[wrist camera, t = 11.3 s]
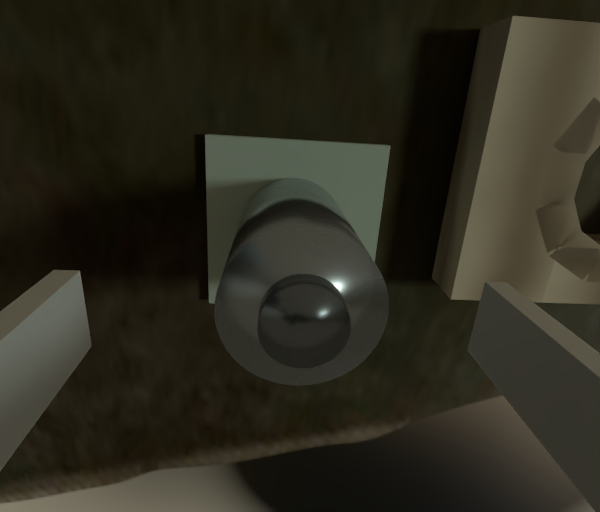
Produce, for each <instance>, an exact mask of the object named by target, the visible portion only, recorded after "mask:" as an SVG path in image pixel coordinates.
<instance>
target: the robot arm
mask: <svg viewBox="0 0 600 512" xmlns="http://www.w3.org/2000/svg"><path fill="white" fill-rule="evenodd" d="M90 348H91V339H90V333H89V326H88V320H87V313H86V307H85V300H84V294H83V288H82V281H81V275H80V271H75V270H53V271H52V272H51V273H49V274H48V275H47V276H45V277H44V278H43V279H42V280H40V281H39V282H38V283H36V284H35V285H34V286H33V287H31V288H30V289H29V290H27V291H26V292H25V293H24V294H22V295H21V296H20V297H18V298H17V299H16V300H15V301H13V302H12V303H11V304H9V305H8V306H7V307H6V308H4V309H3V310H2V311H0V471H1V469H2V468H3V467H4V465H5V464H6V463H7V461H8V460H9V458H10V457H11V456H12V454H13V453H14V452H15V450H16V449H17V448H18V446H19V445H20V443H21V442H22V441H23V439H24V438H25V437H26V435H27V434H28V433H29V431H30V430H31V428H32V427H33V426H34V424H35V423H36V422H37V420H38V419H39V417H40V416H41V415H42V413H43V412H44V411H45V409H46V408H47V407H48V405H49V404H50V402H51V401H52V400H53V398H54V397H55V396H56V394H57V393H58V391H59V390H60V389H61V387H62V386H63V385H64V383H65V382H66V381H67V379H68V378H69V376H70V375H71V374H72V372H73V371H74V370H75V368H76V367H77V365H78V364H79V363H80V361H81V360H82V359H83V357H84V356H85V355H86V353H87V352H88V350H89V349H90ZM468 352H469V353H470V354H471V355H472V357H473V358H474V359H475V360H476V362H477V363H478V364H479V365H480V367H481V368H482V369H483V371H484V372H485V373H486V374H487V376H488V377H489V378H490V379H491V381H492V382H493V383H494V384H495V386H496V387H497V388H498V389H499V391H500V392H501V393H502V394H503V396H504V397H505V398H506V400H507V401H508V402H509V403H510V404H511V406H512V407H513V408H514V410H515V411H516V412H517V413H518V415H519V416H520V417H521V418H522V420H523V421H524V422H525V423H526V425H527V426H528V427H529V428H530V430H531V431H532V432H533V434H534V435H535V436H536V437H537V439H538V440H539V441H540V442H541V444H542V445H543V446H544V447H545V449H546V450H547V451H548V452H549V454H550V455H551V456H552V458H553V459H554V460H555V461H556V463H557V464H558V465H559V466H560V468H561V469H562V470H563V471H564V473H565V474H566V475H567V476H568V478H569V479H570V480H571V481H572V483H573V484H574V485H575V486H576V488H577V489H578V490H579V492H580V493H581V494H582V495H583V497H584V498H585V499H586V500H587V502H588V503H589V504H590V505H591V507H592V508H593V509H594V510H595V512H600V353H599V352H597V351H596V350H595V349H593V348H592V347H591V346H589V345H588V344H587V343H585V342H584V341H583V340H582V339H580V338H579V337H578V336H576V335H575V334H574V333H572V332H571V331H570V330H568V329H567V328H566V327H565V326H563V325H562V324H561V323H559V322H558V321H557V320H555V319H554V318H553V317H551V316H550V315H549V314H548V313H546V312H545V311H544V310H542V309H541V308H540V307H538V306H537V305H536V304H534V303H533V302H532V301H530V300H529V299H528V298H527V297H525V296H524V295H523V294H521V293H520V292H519V291H517V290H516V289H515V288H513V287H512V286H511V285H510V284H508V283H507V282H485V284H484V288H483V292H482V295H481V299H480V303H479V307H478V311H477V315H476V319H475V323H474V327H473V331H472V334H471V338H470V342H469V346H468Z"/></svg>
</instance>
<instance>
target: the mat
mask: <svg viewBox="0 0 600 512" xmlns="http://www.w3.org/2000/svg"><path fill="white" fill-rule="evenodd" d="M389 153H390V145H383V144H366V143H349V142H333V141H316V140H299V139H282V138H266V137H249V136H232V135H216V134H206V135H205V156H206V199H207V242H208V284H209V303H215V297H216V293H217V289H218V286H219V283H220V280H221V277H222V274H223V271H224V268H225V265H226V262H227V259H228V256H229V253H230V250H231V247H232V244H233V241H234V237H235V234H236V231H237V228H238V225H239V222H240V219H241V216H242V213H243V211H244V208H245V206H246V204H247V202H248V201H249V200H250V198H251V197H252V196H253V195H254V194H255V193H256V192H257V191H258V190H259V189H260V188H262V187H263V186H265V185H267V184H268V183H271V182H273V181H276V180H279V179H285V178H300V179H305V180H309V181H311V182H314V183H316V184H318V185H320V186H321V187H323V188H324V189H325V190H327V191H328V192H329V193H330V194H331V195H332V197H333V198H334V199H335V201H336V202H337V204H338V205H339V207H340V209H341V210H342V212H343V213H344V215H345V217H346V218H347V220H348V221H349V223H350V224H351V226H352V228H353V229H354V231H355V232H356V234H357V236H358V237H359V239H360V240H361V242H362V243H363V245H364V247H365V248H366V250H367V251H368V253H369V255H370V256H371V258H372V259H373V261H374V262H375V255H376V247H377V240H378V233H379V225H380V218H381V211H382V204H383V196H384V189H385V182H386V174H387V167H388V160H389Z"/></svg>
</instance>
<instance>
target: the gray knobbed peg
mask: <svg viewBox="0 0 600 512" xmlns="http://www.w3.org/2000/svg"><path fill="white" fill-rule="evenodd" d="M388 312H389V298H388V292H387V287H386V284H385V281H384V279H383V276H382V274H381V273H380V271H379V269H378V267H377V266H376V264H375V262H374V261H373V259H372V258H371V256H370V255H369V253H368V251H367V250H366V248H365V247H364V245H363V243H362V242H361V240H360V239H359V237H358V236H357V234H356V232H355V231H354V229H353V228H352V226H351V224H350V223H349V221H348V220H347V218H346V217H345V215H344V213H343V212H342V210H341V209H340V207H339V205H338V204H337V202H336V201H335V199H334V198H333V197H332V195H331V194H330V193H329V192H328V191H327V190H325V189H324V188H323V187H321V186H320V185H318V184H316V183H314V182H311V181H309V180H305V179H300V178H285V179H279V180H276V181H273V182H271V183H268V184H267V185H265V186H263V187H262V188H260V189H259V190H258V191H257V192H256V193H255V194H254V195H253V196H252V197H251V198H250V200H249V201H248V202H247V204H246V206H245V208H244V211H243V213H242V216H241V219H240V222H239V225H238V228H237V231H236V234H235V237H234V241H233V244H232V247H231V250H230V253H229V256H228V259H227V262H226V265H225V268H224V271H223V274H222V277H221V280H220V283H219V286H218V289H217V293H216V297H215V305H214V315H215V323H216V327H217V331H218V334H219V336H220V339H221V341H222V343H223V345H224V346H225V348H226V350H227V351H228V352H229V353H230V355H231V356H232V357H233V358H234V359H235V360H236V361H237V362H238V363H239V364H240V365H241V366H242V367H244V368H245V369H246V370H248V371H249V372H251V373H253V374H255V375H256V376H259V377H261V378H263V379H266V380H269V381H272V382H275V383H280V384H286V385H312V384H318V383H322V382H326V381H330V380H332V379H335V378H337V377H340V376H342V375H344V374H346V373H348V372H349V371H351V370H352V369H354V368H355V367H357V366H358V365H359V364H360V363H361V362H363V361H364V360H365V359H366V358H367V357H368V356H369V355H370V353H371V352H372V351H373V350H374V348H375V347H376V346H377V344H378V342H379V340H380V339H381V337H382V335H383V332H384V330H385V327H386V323H387V319H388Z"/></svg>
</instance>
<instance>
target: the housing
mask: <svg viewBox="0 0 600 512" xmlns="http://www.w3.org/2000/svg"><path fill="white" fill-rule="evenodd" d="M599 146H600V23H593V22H581V21H569V20H557V19H545V18H533V17H521V16H511V17H508V18H506V19H503V20H501V21H498V22H496V23H493V24H491V25H488V26H486V27H483V28H481V29H480V33H479V38H478V43H477V48H476V54H475V59H474V64H473V69H472V74H471V79H470V84H469V89H468V94H467V100H466V105H465V110H464V115H463V120H462V125H461V130H460V135H459V141H458V146H457V151H456V156H455V161H454V166H453V171H452V176H451V181H450V187H449V192H448V197H447V202H446V207H445V212H444V217H443V222H442V228H441V233H440V238H439V243H438V248H437V253H436V258H435V263H434V268H433V274H432V279H433V280H434V281H435V282H436V283H437V284H438V286H439V287H440V288H441V289H442V290H443V291H444V292H445V293H446V295H447V296H448V297H449V298H450V299H455V300H480V299H481V295H482V292H483V288H484V284H485V282H507V283H508V284H510V285H511V286H512V287H513V288H515V289H516V290H517V291H519V292H520V293H521V294H523V295H524V296H525V297H527V298H528V299H529V300H530V301H532V302H544V303H574V304H600V233H598V234H587V233H584V232H582V231H581V227H580V223H579V219H578V215H577V211H576V207H575V202H574V197H575V194H576V191H577V187H578V184H579V181H580V178H581V175H582V171H583V168H584V165H585V162H586V161H587V159H588V158H589V157H590V156H591V155H592V154H593V153H594V151H595V150H596V149H597V148H598V147H599Z"/></svg>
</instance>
